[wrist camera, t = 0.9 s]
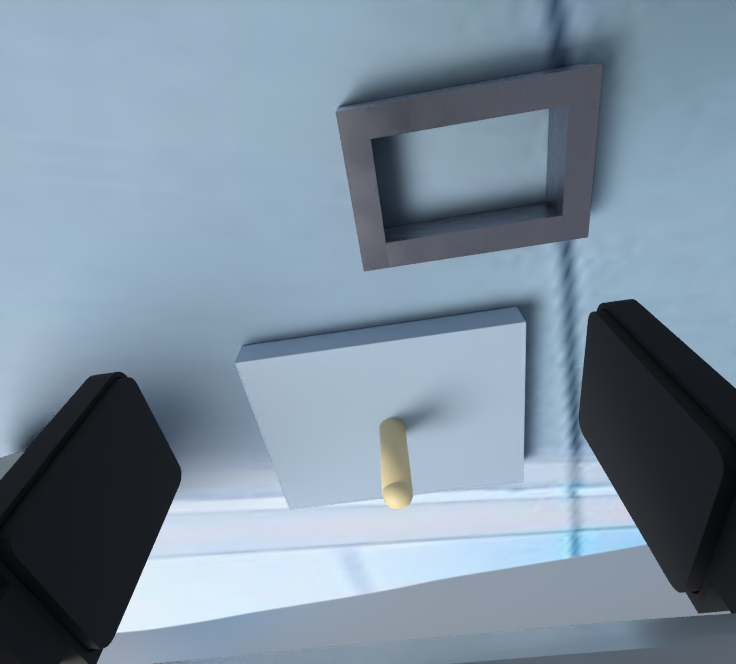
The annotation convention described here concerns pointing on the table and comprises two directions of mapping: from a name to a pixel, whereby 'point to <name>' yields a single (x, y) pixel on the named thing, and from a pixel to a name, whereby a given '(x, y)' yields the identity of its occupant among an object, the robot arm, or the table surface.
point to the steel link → (466, 104)
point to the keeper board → (392, 408)
